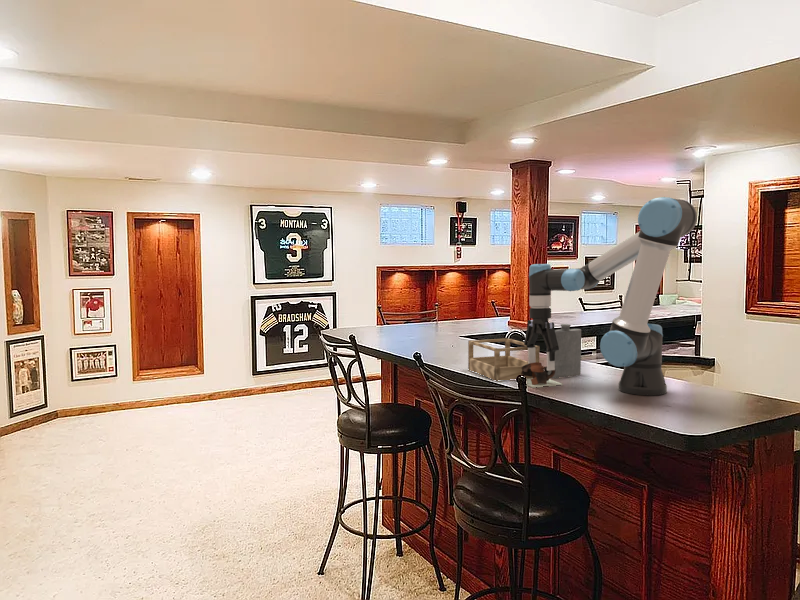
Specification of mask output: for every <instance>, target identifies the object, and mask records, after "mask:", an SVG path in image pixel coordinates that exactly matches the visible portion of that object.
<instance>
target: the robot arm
mask: <svg viewBox="0 0 800 600" xmlns="http://www.w3.org/2000/svg"><path fill="white" fill-rule="evenodd" d="M697 222H698V214H697V211H696V208H695V207H694V206H693V205H692V204H691V203H690V202H689V201H687V200H684V199H680V198H672V197H670V196H669V197H667V196H662V197H655V198H652V199H650V200H648V201H647V202H645V203H644V205H643V206H642V207H641V208H640V210H639V212H638V216H637V223H638V226H639V231H638V232H635V234H632V235H631V236H630V237H628V238H626V239H625V240H623V241H622V242H620V243H618V244H617V245H615V246H614V247H612V248H610V249H609V250H607V251H605V252H604V253H602V254H601V255H600V256H597V257H596V258H594V259H593V260H591V261H589V262H588V263H587V264H585V265H583V266H582V267H580V268H579V267H578V268H571V267H570V268H559V269H554V268H552V267H551V264H549V263H534V264H531V265H530V266H529V272H528V283H529V296H528V297H529V304H528V305H529V307H530V308H529V319H530V320H527V327H526V332H525V336H524V337H525V338H524V340H523V341H524V345H526V346H525V347H528V350H527V361H528V364H530V363H535V362H536V354H535V347H536V346H537V345H536V346H535V344H536V342H537V340H538V337H539V335H540V336H542V339H543V341H544V343H545V346H546V367H547V371H550V370H555V351H556V350H559V346H558V342H557V338H556V334H555V330H556V329H555V323H554V321H553V322H549V319H551V318H552V308H551V307H552V292H553V291H556V292H557V291H559V292H560V291H561V292H562V291H563V292H564V291H565V292H567V291H568V292H575V291H576V292H577V291H580V290H590V289H593V288H596V286H598V284H599V283H600V281H603V280H604V279H607V278H608V277H609V276H612V275H613V274H614V273H616V272H618V271H619V270H622V269H623V268H624V267H627V266H628V265H629V264H631V263H634V262H635V264H634V267H633V269H632V274H631V277H630V280H629V283H628V286H627V290H626V293H625V296H624V300H623V303H622V306H621V310H620V313H619V316H617V317H616V318H614V319H613V320H612V322H611V325H610V329H609V331H608V332H606V333H605V334H604V335H603V336H602V337H601V339H600V343H599V350H600V353H601V355H602V357H603V358H604V360H605V361H606V362H607V363H608V364H610V365H612V366H614V367H618V368H620V367H623V371H622V372H621V373H622V374H621V377H620V379H619V382H618V390H619V391H621V392H623V393H625V394H630V395H637V396H662V395H665V394H667V392H668V390H667V389H668V388H667V387H668V386H667V384H666V380H665V377H664V374H663V373H664V372H663V370H662V369H663V368H662V367H663V365H662V363H663V337H664V334H663V327H662V326H661V325H660V324H655V323H648V322H649V319H650V316H651V313H652V310H653V308H654V307H653V306H654V304H655V299H656V298H657V295H658V290H659V288H660V285H661V281H662V278H663V275H664V272H665V270H666V269H665V268H666V266H667V262H668V259H669V257H670V253H671V251H672V250H674V249H676V248H677V247H678V246H679V242H680V239H681V238H682V237H685V236H687V235H688V234H689V233H690V232H692V231H693V229H694V228H695V226H696V224H697ZM547 349H548V350H547Z"/></svg>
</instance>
